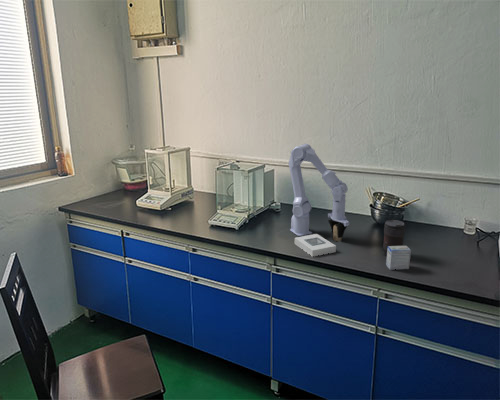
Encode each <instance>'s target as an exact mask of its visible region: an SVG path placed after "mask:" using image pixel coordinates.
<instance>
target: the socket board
mask: <svg viewBox="0 0 500 400" xmlns="http://www.w3.org/2000/svg"><path fill="white" fill-rule="evenodd" d="M294 245H295V246H297V247H298V248H300V249H301V250H302V249H303V250H302V251H304V252H305V253H306V252H307V253H306V254H308V255H309V254H310V255H311V257H312V258H314V257H318V255H319V256H322V255H323V254H324V255H328V253H329V254H332V253H336V252H337V246H336V244H334V243H332V242H330V241H329V240H328V239H325V238H324V237H323V236H322V235H320V234H318V233H312V234H308V235H302V236H297V237H294ZM313 256H314V257H313Z"/></svg>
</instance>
